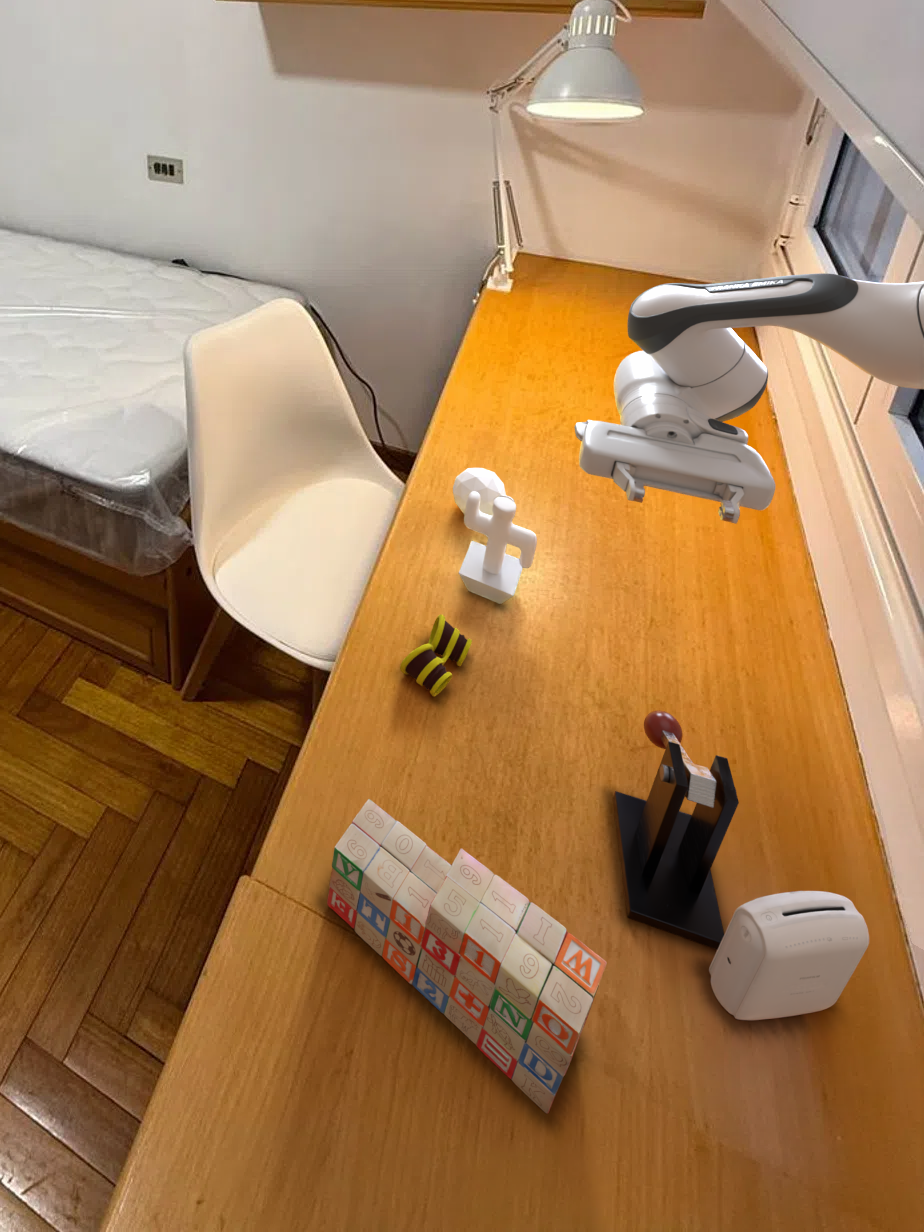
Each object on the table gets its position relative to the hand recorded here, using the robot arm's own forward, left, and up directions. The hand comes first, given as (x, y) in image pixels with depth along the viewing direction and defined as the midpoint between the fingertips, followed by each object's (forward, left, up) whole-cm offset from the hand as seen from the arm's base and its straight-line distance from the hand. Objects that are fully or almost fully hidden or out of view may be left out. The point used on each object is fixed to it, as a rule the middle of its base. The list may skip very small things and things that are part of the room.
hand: (683, 507), depth 94 cm
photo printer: (-7, +32, -26) cm, 42 cm away
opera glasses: (+23, +8, -26) cm, 36 cm away
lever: (0, +20, -18) cm, 26 cm away
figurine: (+17, -8, -26) cm, 32 cm away
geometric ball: (+19, -23, -26) cm, 40 cm away
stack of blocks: (+20, +40, -26) cm, 52 cm away
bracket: (0, +24, -26) cm, 35 cm away
